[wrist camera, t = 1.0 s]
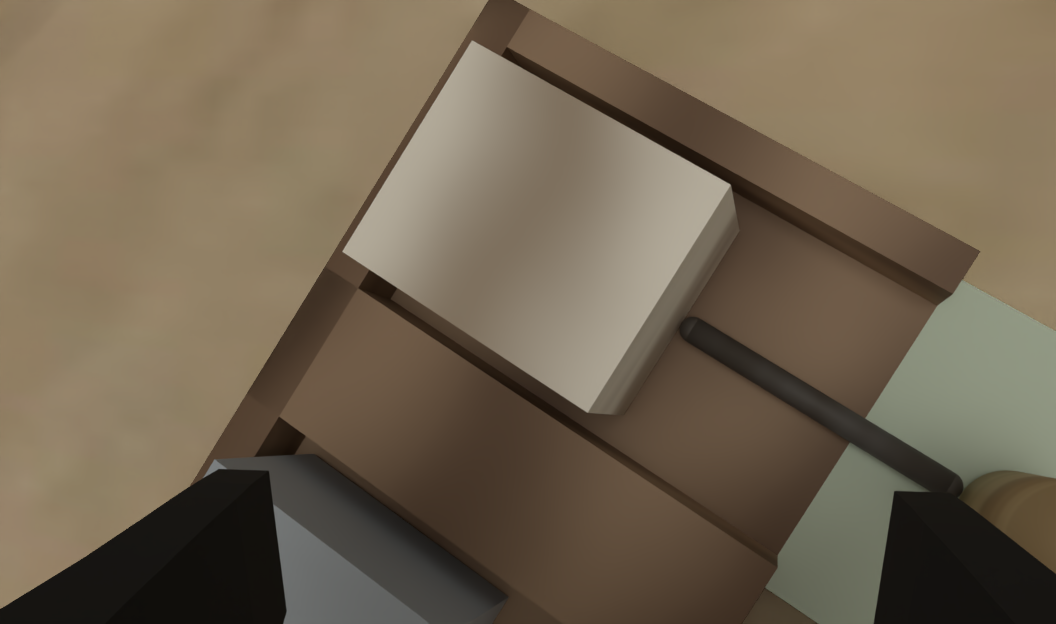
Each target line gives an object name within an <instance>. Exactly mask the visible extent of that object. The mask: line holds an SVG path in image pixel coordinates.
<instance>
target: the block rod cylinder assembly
mask: <svg viewBox="0 0 1056 624" xmlns="http://www.w3.org/2000/svg"><path fill="white" fill-rule="evenodd" d="M739 231H740V230H739V225H738V220H737V215H736V209H735V204H734V199H733V194H732V188H731V185H730V184H728V183H727V182H725V181H723V180H721V179H720V178H718V177H716V176H714V175H712V174H711V173H709V172H707V171H705V170H703V169H702V168H700V167H698V166H696V165H694V164H693V163H691V162H689V161H687V160H685V159H684V158H682V157H680V156H678V155H677V154H675V153H673V152H671V151H669V150H668V149H666V148H664V147H662V146H660V145H659V144H657V143H655V142H653V141H651V140H650V139H648V138H646V137H644V136H643V135H641V134H639V133H637V132H635V131H634V130H632V129H630V128H628V127H626V126H625V125H623V124H621V123H619V122H617V121H616V120H614V119H612V118H610V117H608V116H607V115H605V114H603V113H601V112H600V111H598V110H596V109H594V108H592V107H591V106H589V105H587V104H585V103H583V102H582V101H580V100H578V99H576V98H574V97H573V96H571V95H569V94H567V93H566V92H564V91H562V90H560V89H558V88H557V87H555V86H553V85H551V84H549V83H548V82H546V81H544V80H542V79H540V78H539V77H537V76H535V75H533V74H531V73H530V72H528V71H526V70H524V69H523V68H521V67H519V66H517V65H515V64H514V63H512V62H510V61H508V60H506V59H505V58H503V57H501V56H499V55H497V54H496V53H494V52H492V51H490V50H489V49H487V48H485V47H483V46H481V45H480V44H478V43H476V42H474V41H471V43H470V45H469V46H468V48H467V49H466V51H465V53H464V54H463V56H462V58H461V59H460V61H459V62H458V64H457V66H456V67H455V69H454V71H453V72H452V74H451V75H450V77H449V79H448V80H447V82H446V84H445V85H444V87H443V88H442V90H441V92H440V93H439V95H438V97H437V98H436V100H435V102H434V103H433V105H432V106H431V108H430V110H429V111H428V113H427V115H426V116H425V118H424V119H423V121H422V123H421V124H420V126H419V128H418V129H417V131H416V132H415V134H414V136H413V137H412V139H411V141H410V142H409V144H408V145H407V147H406V149H405V150H404V152H403V154H402V155H401V157H400V158H399V160H398V162H397V163H396V165H395V167H394V168H393V170H392V171H391V173H390V175H389V176H388V178H387V180H386V181H385V183H384V185H383V186H382V188H381V189H380V191H379V193H378V194H377V196H376V198H375V199H374V201H373V202H372V204H371V206H370V207H369V209H368V211H367V212H366V214H365V215H364V217H363V219H362V220H361V222H360V224H359V225H358V227H357V228H356V230H355V232H354V233H353V235H352V237H351V238H350V240H349V241H348V243H347V245H346V246H345V248H344V250H343V251H342V252H344V253H345V254H347V255H348V256H350V257H351V258H353V259H354V260H356V261H357V262H359V263H360V264H362V265H363V266H365V267H366V268H368V269H369V270H371V271H372V272H374V273H376V274H377V275H379V276H380V277H382V278H383V279H385V280H386V281H388V282H389V283H391V284H392V285H394V286H395V287H397V288H398V289H400V290H401V291H403V292H404V293H406V294H407V295H409V296H411V297H412V298H414V299H415V300H417V301H418V302H420V303H421V304H423V305H424V306H426V307H427V308H429V309H430V310H432V311H433V312H435V313H436V314H438V315H439V316H441V317H442V318H444V319H446V320H447V321H449V322H450V323H452V324H453V325H455V326H456V327H458V328H459V329H461V330H462V331H464V332H465V333H467V334H468V335H470V336H471V337H473V338H474V339H476V340H477V341H479V342H481V343H482V344H484V345H485V346H487V347H488V348H490V349H491V350H493V351H494V352H496V353H497V354H499V355H500V356H502V357H503V358H505V359H506V360H508V361H509V362H511V363H513V364H514V365H516V366H517V367H519V368H520V369H522V370H523V371H525V372H526V373H528V374H529V375H531V376H532V377H534V378H535V379H537V380H538V381H540V382H541V383H543V384H544V385H546V386H548V387H549V388H551V389H552V390H554V391H555V392H557V393H558V394H560V395H561V396H563V397H564V398H566V399H567V400H569V401H570V402H572V403H573V404H575V405H576V406H578V407H579V408H581V409H583V410H584V411H586V412H587V413H597V414H611V415H624V414H625V412H626V411H627V409H628V407H629V406H630V404H631V403H632V401H633V399H634V398H635V396H636V395H637V393H638V391H639V390H640V388H641V387H642V385H643V384H644V382H645V380H646V379H647V377H648V376H649V374H650V372H651V371H652V369H653V368H654V366H655V364H656V363H657V361H658V360H659V358H660V357H661V355H662V353H663V352H664V350H665V349H666V347H667V345H668V344H669V342H670V341H671V339H672V338H673V336H674V334H675V333H676V331H677V330H678V328H679V326H680V329H679V331H680V335H681V337H682V338H683V339H684V340H685V341H686V342H688V343H690V344H691V345H693V346H694V347H696V348H698V349H699V350H701V351H703V352H704V353H706V354H707V355H709V356H711V357H712V358H714V359H716V360H717V361H719V362H720V363H722V364H724V365H725V366H727V367H729V368H730V369H732V370H733V371H735V372H737V373H738V374H740V375H742V376H743V377H745V378H746V379H748V380H750V381H751V382H753V383H755V384H756V385H758V386H760V387H761V388H763V389H764V390H766V391H768V392H769V393H771V394H773V395H774V396H776V397H777V398H779V399H781V400H782V401H784V402H786V403H787V404H789V405H790V406H792V407H794V408H795V409H797V410H799V411H800V412H802V413H803V414H805V415H807V416H808V417H810V418H812V419H813V420H815V421H816V422H818V423H820V424H821V425H823V426H825V427H826V428H828V429H829V430H831V431H833V432H834V433H836V434H838V435H839V436H841V437H842V438H844V439H846V440H847V441H849V442H851V443H852V444H854V445H855V446H857V447H859V448H860V449H862V450H864V451H865V452H867V453H869V454H870V455H872V456H873V457H875V458H877V459H878V460H880V461H882V462H883V463H885V464H886V465H888V466H890V467H891V468H893V469H895V470H896V471H898V472H899V473H901V474H903V475H904V476H906V477H908V478H909V479H911V480H912V481H914V482H916V483H917V484H919V485H921V486H922V487H924V488H925V489H927V490H929V491H930V492H945V493H951V494H953V495H954V496H956V497H957V498H958V497H959V496H960V497H959V499H960V500H961V501H963V502H964V503H966V504H967V505H968V506H970V507H971V508H972V509H974V510H975V511H976V512H978V513H979V514H980V515H982V516H983V517H984V518H985V519H987V520H988V521H989V522H991V523H992V524H993V525H994V526H996V527H997V528H998V529H999V530H1001V531H1002V532H1003V533H1005V534H1006V535H1007V536H1008V537H1010V538H1011V539H1012V540H1013V541H1015V542H1016V543H1017V544H1018V545H1020V546H1021V547H1022V548H1024V549H1025V550H1026V551H1027V552H1029V553H1030V554H1031V555H1032V556H1034V557H1035V558H1036V559H1038V560H1039V561H1040V562H1041V563H1043V564H1044V565H1045V566H1047V567H1048V568H1049V569H1050V570H1052V571H1053V572H1054V573H1056V478H1051V477H1045V476H1040V475H1035V474H1029V473H1024V472H1018V471H1010V470H1003V471H995V472H991V473H988V474H985V475H983V476H981V477H979V478H977V479H975V480H974V481H973V482H971V483H970V484H969V485H968V486H967V487H966V488H965V489H964V491H963V488H964V485H963V481H962V479H961V478H960V476H959V475H957V474H956V473H954V472H953V471H951V470H949V469H948V468H946V467H945V466H943V465H941V464H940V463H938V462H936V461H935V460H933V459H931V458H930V457H928V456H926V455H925V454H923V453H921V452H920V451H918V450H916V449H915V448H913V447H911V446H910V445H908V444H907V443H905V442H903V441H902V440H900V439H898V438H897V437H895V436H893V435H892V434H890V433H888V432H887V431H885V430H883V429H882V428H880V427H878V426H877V425H875V424H873V423H872V422H870V421H869V420H867V419H865V418H864V417H862V416H860V415H859V414H857V413H855V412H854V411H852V410H850V409H849V408H847V407H845V406H844V405H842V404H840V403H839V402H837V401H835V400H834V399H832V398H830V397H829V396H827V395H826V394H824V393H822V392H821V391H819V390H817V389H816V388H814V387H812V386H811V385H809V384H807V383H806V382H804V381H802V380H801V379H799V378H797V377H796V376H794V375H792V374H791V373H789V372H788V371H786V370H784V369H783V368H781V367H779V366H778V365H776V364H774V363H773V362H771V361H769V360H768V359H766V358H764V357H763V356H761V355H759V354H758V353H756V352H754V351H753V350H751V349H750V348H748V347H746V346H745V345H743V344H741V343H740V342H738V341H736V340H735V339H733V338H731V337H730V336H728V335H726V334H725V333H723V332H721V331H720V330H718V329H716V328H715V327H713V326H711V325H710V324H708V323H707V322H705V321H703V320H702V319H700V318H698V317H688V318H686V319H685V320H684V318H685V317H686V315H687V314H688V312H689V311H690V309H691V307H692V306H693V304H694V303H695V301H696V299H697V298H698V296H699V295H700V293H701V292H702V290H703V288H704V287H705V285H706V284H707V282H708V280H709V279H710V277H711V276H712V274H713V272H714V271H715V269H716V268H717V266H718V265H719V263H720V261H721V260H722V258H723V257H724V255H725V253H726V252H727V250H728V249H729V247H730V245H731V244H732V242H733V241H734V239H735V238H736V236H737V234H738V233H739Z"/></svg>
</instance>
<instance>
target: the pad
mask: <svg viewBox="0 0 1056 624" xmlns="http://www.w3.org/2000/svg"><path fill="white" fill-rule="evenodd" d="M865 419H867V420H869V421H870V422H872V423H873V424H875V425H877V426H878V427H880V428H882V429H883V430H885V431H887V432H888V433H890V434H892V435H893V436H895V437H897V438H898V439H900V440H902V441H903V442H905V443H907V444H908V445H910V446H911V447H913V448H915V449H916V450H918V451H920V452H921V453H923V454H925V455H926V456H928V457H930V458H931V459H933V460H935V461H936V462H938V463H940V464H941V465H943V466H945V467H946V468H948V469H949V470H951V471H953V472H954V473H956V474H957V475H959V476H960V478H961V479H962V481H963V485H964V488H963V491H964V489H965V488H966V487H967V486H968V485H969V484H970V483H971V482H973V481H974V480H975V479H977V478H979V477H981V476H983V475H985V474H988V473H991V472H995V471H1003V470H1010V471H1018V472H1024V473H1029V474H1035V475H1040V476H1045V477H1051V478H1056V331H1054V330H1052V329H1051V328H1049V327H1047V326H1045V325H1043V324H1041V323H1040V322H1038V321H1036V320H1034V319H1032V318H1031V317H1029V316H1027V315H1025V314H1023V313H1021V312H1020V311H1018V310H1016V309H1014V308H1012V307H1010V306H1009V305H1007V304H1005V303H1003V302H1001V301H1000V300H998V299H996V298H994V297H992V296H990V295H989V294H987V293H985V292H983V291H981V290H980V289H978V288H976V287H974V286H972V285H970V284H969V283H967V282H965V281H963V280H962V281H961V282H960V284H959V285H958V287H957V289H956V290H955V292H954V293H953V294H952V295H951V296H950V297H948V298H947V299H946V300H944V301H943V302H942V303H940V304H939V305H938V306H937V307H936V309H935V310H934V312H933V313H932V315H931V317H930V318H929V320H928V321H927V323H926V324H925V326H924V327H923V329H922V331H921V332H920V334H919V335H918V337H917V338H916V340H915V342H914V343H913V345H912V346H911V348H910V349H909V351H908V352H907V354H906V356H905V357H904V359H903V360H902V362H901V363H900V365H899V367H898V368H897V370H896V371H895V373H894V374H893V376H892V377H891V379H890V381H889V382H888V384H887V385H886V387H885V388H884V390H883V392H882V393H881V395H880V396H879V398H878V399H877V401H876V402H875V404H874V406H873V407H872V409H871V410H870V412H869V413H868V415H867V417H866V418H865ZM894 491H914V492H930V491H929V490H927V489H925V488H924V487H922V486H921V485H919V484H917V483H916V482H914V481H912V480H911V479H909V478H908V477H906V476H904V475H903V474H901V473H899V472H898V471H896V470H895V469H893V468H891V467H890V466H888V465H886V464H885V463H883V462H882V461H880V460H878V459H877V458H875V457H873V456H872V455H870V454H869V453H867V452H865V451H864V450H862V449H860V448H859V447H857V446H855V445H854V444H852V443H851V442H850V443H849V445H848V446H847V448H846V449H845V451H844V452H843V454H842V456H841V457H840V459H839V460H838V462H837V463H836V465H835V466H834V468H833V470H832V471H831V473H830V474H829V476H828V477H827V479H826V481H825V482H824V484H823V485H822V487H821V488H820V490H819V491H818V493H817V495H816V496H815V498H814V499H813V501H812V502H811V504H810V506H809V507H808V509H807V510H806V512H805V513H804V515H803V516H802V518H801V520H800V521H799V523H798V524H797V526H796V527H795V529H794V531H793V532H792V534H791V535H790V537H789V538H788V540H787V541H786V543H785V545H784V546H783V548H782V549H781V551H780V552H779V554H778V568H777V570H776V571H775V573H774V574H773V576H772V577H771V579H770V580H769V582H768V584H767V585H766V587H765V588H766V589H768V590H769V591H771V592H772V593H774V594H775V595H777V596H778V597H780V598H781V599H783V600H784V601H786V602H787V603H788V604H790V605H791V606H793V607H794V608H796V609H797V610H799V611H800V612H802V613H803V614H805V615H806V616H808V617H809V618H811V619H812V620H814V621H815V622H817V623H818V624H874V618H875V611H876V605H877V599H878V592H879V586H880V579H881V573H882V567H883V560H884V554H885V547H886V541H887V534H888V528H889V522H890V515H891V509H892V502H893V496H894ZM959 497H960V496H959ZM959 497H958V498H959Z"/></svg>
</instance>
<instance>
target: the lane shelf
mask: <svg viewBox="0 0 1056 624" xmlns="http://www.w3.org/2000/svg"><path fill="white" fill-rule="evenodd" d="M471 41H474V42H476V43H478V44H480V45H481V46H483V47H485V48H487V49H489V50H490V51H492V52H494V53H496V54H497V55H499V56H501V57H503V58H505V59H506V60H508V61H510V62H512V63H514V64H515V65H517V66H519V67H521V68H523V69H524V70H526V71H528V72H530V73H531V74H533V75H535V76H537V77H539V78H540V79H542V80H544V81H546V82H548V83H549V84H551V85H553V86H555V87H557V88H558V89H560V90H562V91H564V92H566V93H567V94H569V95H571V96H573V97H574V98H576V99H578V100H580V101H582V102H583V103H585V104H587V105H589V106H591V107H592V108H594V109H596V110H598V111H600V112H601V113H603V114H605V115H607V116H608V117H610V118H612V119H614V120H616V121H617V122H619V123H621V124H623V125H625V126H626V127H628V128H630V129H632V130H634V131H635V132H637V133H639V134H641V135H643V136H644V137H646V138H648V139H650V140H651V141H653V142H655V143H657V144H659V145H660V146H662V147H664V148H666V149H668V150H669V151H671V152H673V153H675V154H677V155H678V156H680V157H682V158H684V159H685V160H687V161H689V162H691V163H693V164H694V165H696V166H698V167H700V168H702V169H703V170H705V171H707V172H709V173H711V174H712V175H714V176H716V177H718V178H720V179H721V180H723V181H725V182H727V183H728V184H730V185H731V188H732V194H733V199H734V204H735V209H736V215H737V220H738V225H739V230H740V231H739V233H738V234H737V236H736V238H735V239H734V241H733V242H732V244H731V245H730V247H729V249H728V250H727V252H726V253H725V255H724V257H723V258H722V260H721V261H720V263H719V265H718V266H717V268H716V269H715V271H714V272H713V274H712V276H711V277H710V279H709V280H708V282H707V284H706V285H705V287H704V288H703V290H702V292H701V293H700V295H699V296H698V298H697V299H696V301H695V303H694V304H693V306H692V307H691V309H690V311H689V312H688V314H687V315H686V317H685V318H684V320H685V319H686V318H688V317H698V318H700V319H702V320H703V321H705V322H707V323H708V324H710V325H711V326H713V327H715V328H716V329H718V330H720V331H721V332H723V333H725V334H726V335H728V336H730V337H731V338H733V339H735V340H736V341H738V342H740V343H741V344H743V345H745V346H746V347H748V348H750V349H751V350H753V351H754V352H756V353H758V354H759V355H761V356H763V357H764V358H766V359H768V360H769V361H771V362H773V363H774V364H776V365H778V366H779V367H781V368H783V369H784V370H786V371H788V372H789V373H791V374H792V375H794V376H796V377H797V378H799V379H801V380H802V381H804V382H806V383H807V384H809V385H811V386H812V387H814V388H816V389H817V390H819V391H821V392H822V393H824V394H826V395H827V396H829V397H830V398H832V399H834V400H835V401H837V402H839V403H840V404H842V405H844V406H845V407H847V408H849V409H850V410H852V411H854V412H855V413H857V414H859V415H860V416H862V417H864V418H866V417H867V415H868V413H869V412H870V410H871V409H872V407H873V406H874V404H875V402H876V401H877V399H878V398H879V396H880V395H881V393H882V392H883V390H884V388H885V387H886V385H887V384H888V382H889V381H890V379H891V377H892V376H893V374H894V373H895V371H896V370H897V368H898V367H899V365H900V363H901V362H902V360H903V359H904V357H905V356H906V354H907V352H908V351H909V349H910V348H911V346H912V345H913V343H914V342H915V340H916V338H917V337H918V335H919V334H920V332H921V331H922V329H923V327H924V326H925V324H926V323H927V321H928V320H929V318H930V317H931V315H932V313H933V312H934V310H935V309H936V307H937V306H938V305H939V304H940V303H942V302H943V301H944V300H946V299H947V298H948V297H950V296H951V295H952V294H953V293H954V292H955V290H956V289H957V287H958V285H959V284H960V282H961V281H962V279H963V278H964V276H965V274H966V273H967V271H968V270H969V268H970V267H971V265H972V264H973V262H974V260H975V259H976V257H977V256H978V254H979V253H980V251H979V250H977V249H975V248H973V247H971V246H970V245H968V244H966V243H964V242H962V241H960V240H958V239H957V238H955V237H953V236H951V235H949V234H947V233H945V232H944V231H942V230H940V229H938V228H936V227H934V226H932V225H931V224H929V223H927V222H925V221H923V220H921V219H919V218H918V217H916V216H914V215H912V214H910V213H908V212H906V211H904V210H903V209H901V208H899V207H897V206H895V205H893V204H891V203H890V202H888V201H886V200H884V199H882V198H880V197H878V196H877V195H875V194H873V193H871V192H869V191H867V190H865V189H864V188H862V187H860V186H858V185H856V184H854V183H852V182H851V181H849V180H847V179H845V178H843V177H841V176H839V175H838V174H836V173H834V172H832V171H830V170H828V169H826V168H825V167H823V166H821V165H819V164H817V163H815V162H813V161H811V160H810V159H808V158H806V157H804V156H802V155H800V154H798V153H797V152H795V151H793V150H791V149H789V148H787V147H785V146H784V145H782V144H780V143H778V142H776V141H774V140H772V139H771V138H769V137H767V136H765V135H763V134H761V133H759V132H758V131H756V130H754V129H752V128H750V127H748V126H746V125H745V124H743V123H741V122H739V121H737V120H735V119H733V118H732V117H730V116H728V115H726V114H724V113H722V112H720V111H719V110H717V109H715V108H713V107H711V106H709V105H707V104H705V103H704V102H702V101H700V100H698V99H696V98H694V97H692V96H691V95H689V94H687V93H685V92H683V91H681V90H679V89H678V88H676V87H674V86H672V85H670V84H668V83H666V82H665V81H663V80H661V79H659V78H657V77H655V76H653V75H652V74H650V73H648V72H646V71H644V70H642V69H640V68H639V67H637V66H635V65H633V64H631V63H629V62H627V61H626V60H624V59H622V58H620V57H618V56H616V55H614V54H612V53H611V52H609V51H607V50H605V49H603V48H601V47H599V46H598V45H596V44H594V43H592V42H590V41H588V40H586V39H585V38H583V37H581V36H579V35H577V34H575V33H573V32H572V31H570V30H568V29H566V28H564V27H562V26H560V25H559V24H557V23H555V22H553V21H551V20H549V19H547V18H546V17H544V16H542V15H540V14H538V13H536V12H534V11H533V10H531V9H529V8H527V7H525V6H523V5H521V4H519V3H518V2H516V1H514V0H488V2H487V4H486V5H485V7H484V8H483V10H482V12H481V13H480V15H479V17H478V18H477V20H476V22H475V23H474V25H473V26H472V28H471V30H470V31H469V33H468V35H467V36H466V38H465V39H464V41H463V43H462V44H461V46H460V48H459V49H458V51H457V52H456V54H455V56H454V57H453V59H452V61H451V62H450V64H449V65H448V67H447V69H446V70H445V72H444V74H443V75H442V77H441V78H440V80H439V82H438V83H437V85H436V87H435V88H434V90H433V92H432V93H431V95H430V96H429V98H428V100H427V101H426V103H425V105H424V106H423V108H422V109H421V111H420V113H419V114H418V116H417V118H416V119H415V121H414V122H413V124H412V126H411V127H410V129H409V131H408V132H407V134H406V135H405V137H404V139H403V140H402V142H401V144H400V145H399V147H398V149H397V150H396V152H395V153H394V155H393V157H392V158H391V160H390V162H389V163H388V165H387V166H386V168H385V170H384V171H383V173H382V175H381V176H380V178H379V179H378V181H377V183H376V184H375V186H374V188H373V189H372V191H371V192H370V194H369V196H368V197H367V199H366V201H365V202H364V204H363V205H362V207H361V209H360V210H359V212H358V214H357V215H356V217H355V219H354V220H353V222H352V223H351V225H350V227H349V228H348V230H347V232H346V233H345V235H344V236H343V238H342V240H341V241H340V243H339V245H338V246H337V248H336V249H335V251H334V253H333V254H332V256H331V258H330V259H329V261H328V262H327V264H326V266H325V267H324V269H323V271H322V272H321V274H320V275H319V277H318V279H317V280H316V282H315V284H314V285H313V287H312V289H311V290H310V292H309V293H308V295H307V297H306V298H305V300H304V302H303V303H302V305H301V306H300V308H299V310H298V311H297V313H296V315H295V316H294V318H293V319H292V321H291V323H290V324H289V326H288V328H287V329H286V331H285V332H284V334H283V336H282V337H281V339H280V341H279V342H278V344H277V346H276V347H275V349H274V350H273V352H272V354H271V355H270V357H269V359H268V360H267V362H266V363H265V365H264V367H263V368H262V370H261V372H260V373H259V375H258V376H257V378H256V380H255V381H254V383H253V385H252V386H251V388H250V389H249V391H248V393H247V394H246V396H245V398H244V399H243V401H242V402H241V404H240V406H239V407H238V409H237V411H236V412H235V414H234V416H233V417H232V419H231V420H230V422H229V424H228V425H227V427H226V429H225V430H224V432H223V433H222V435H221V437H220V438H219V440H218V442H217V443H216V445H215V446H214V448H213V450H212V451H211V453H210V455H209V456H208V458H207V459H206V461H205V463H204V464H203V466H202V468H201V469H200V471H199V473H198V474H197V476H196V477H195V479H194V481H193V482H192V484H191V485H193V484H195V483H196V482H198V481H199V480H201V479H202V478H203V477H204V476H205V474H206V473H207V471H208V469H209V468H210V466H211V464H212V463H213V461H214V460H215V459H230V458H247V457H264V456H282V455H299V454H315V455H316V456H317V457H319V458H320V459H321V460H323V461H324V462H326V463H327V464H328V465H330V466H331V467H332V468H334V469H335V470H336V471H338V472H339V473H340V474H342V475H343V476H345V477H346V478H347V479H349V480H350V481H351V482H353V483H354V484H355V485H357V486H358V487H360V488H361V489H362V490H364V491H365V492H366V493H368V494H369V495H370V496H372V497H373V498H375V499H376V500H377V501H379V502H380V503H381V504H383V505H384V506H385V507H387V508H388V509H389V510H391V511H392V512H394V513H395V514H396V515H398V516H399V517H400V518H402V519H403V520H404V521H406V522H407V523H409V524H410V525H411V526H413V527H414V528H415V529H417V530H418V531H419V532H421V533H422V534H424V535H425V536H426V537H428V538H429V539H430V540H432V541H433V542H434V543H436V544H437V545H439V546H440V547H441V548H443V549H444V550H445V551H447V552H448V553H449V554H451V555H452V556H453V557H455V558H456V559H458V560H459V561H460V562H462V563H463V564H464V565H466V566H467V567H468V568H470V569H471V570H473V571H474V572H475V573H477V574H478V575H479V576H481V577H482V578H483V579H485V580H486V581H488V582H489V583H490V584H492V585H493V586H494V587H496V588H497V589H498V590H500V591H501V592H503V593H504V594H505V595H507V596H508V597H509V598H508V599H507V601H506V603H505V604H504V606H503V607H502V609H501V610H500V612H499V614H498V615H497V617H496V618H495V620H494V622H493V623H492V624H742V623H743V621H744V620H745V618H746V616H747V615H748V613H749V612H750V610H751V609H752V607H753V605H754V604H755V602H756V601H757V599H758V598H759V596H760V595H761V593H762V591H763V590H764V588H765V587H766V585H767V584H768V582H769V580H770V579H771V577H772V576H773V574H774V573H775V571H776V570H777V568H778V554H779V552H780V551H781V549H782V548H783V546H784V545H785V543H786V541H787V540H788V538H789V537H790V535H791V534H792V532H793V531H794V529H795V527H796V526H797V524H798V523H799V521H800V520H801V518H802V516H803V515H804V513H805V512H806V510H807V509H808V507H809V506H810V504H811V502H812V501H813V499H814V498H815V496H816V495H817V493H818V491H819V490H820V488H821V487H822V485H823V484H824V482H825V481H826V479H827V477H828V476H829V474H830V473H831V471H832V470H833V468H834V466H835V465H836V463H837V462H838V460H839V459H840V457H841V456H842V454H843V452H844V451H845V449H846V448H847V446H848V445H849V443H850V442H849V441H847V440H846V439H844V438H842V437H841V436H839V435H838V434H836V433H834V432H833V431H831V430H829V429H828V428H826V427H825V426H823V425H821V424H820V423H818V422H816V421H815V420H813V419H812V418H810V417H808V416H807V415H805V414H803V413H802V412H800V411H799V410H797V409H795V408H794V407H792V406H790V405H789V404H787V403H786V402H784V401H782V400H781V399H779V398H777V397H776V396H774V395H773V394H771V393H769V392H768V391H766V390H764V389H763V388H761V387H760V386H758V385H756V384H755V383H753V382H751V381H750V380H748V379H746V378H745V377H743V376H742V375H740V374H738V373H737V372H735V371H733V370H732V369H730V368H729V367H727V366H725V365H724V364H722V363H720V362H719V361H717V360H716V359H714V358H712V357H711V356H709V355H707V354H706V353H704V352H703V351H701V350H699V349H698V348H696V347H694V346H693V345H691V344H690V343H688V342H686V341H685V340H684V339H683V338H682V337H681V335H680V331H679V329H680V326H679V328H678V330H677V331H676V333H675V334H674V336H673V338H672V339H671V341H670V342H669V344H668V345H667V347H666V349H665V350H664V352H663V353H662V355H661V357H660V358H659V360H658V361H657V363H656V364H655V366H654V368H653V369H652V371H651V372H650V374H649V376H648V377H647V379H646V380H645V382H644V384H643V385H642V387H641V388H640V390H639V391H638V393H637V395H636V396H635V398H634V399H633V401H632V403H631V404H630V406H629V407H628V409H627V411H626V412H625V414H624V415H611V414H597V413H587V412H586V411H584V410H583V409H581V408H579V407H578V406H576V405H575V404H573V403H572V402H570V401H569V400H567V399H566V398H564V397H563V396H561V395H560V394H558V393H557V392H555V391H554V390H552V389H551V388H549V387H548V386H546V385H544V384H543V383H541V382H540V381H538V380H537V379H535V378H534V377H532V376H531V375H529V374H528V373H526V372H525V371H523V370H522V369H520V368H519V367H517V366H516V365H514V364H513V363H511V362H509V361H508V360H506V359H505V358H503V357H502V356H500V355H499V354H497V353H496V352H494V351H493V350H491V349H490V348H488V347H487V346H485V345H484V344H482V343H481V342H479V341H477V340H476V339H474V338H473V337H471V336H470V335H468V334H467V333H465V332H464V331H462V330H461V329H459V328H458V327H456V326H455V325H453V324H452V323H450V322H449V321H447V320H446V319H444V318H442V317H441V316H439V315H438V314H436V313H435V312H433V311H432V310H430V309H429V308H427V307H426V306H424V305H423V304H421V303H420V302H418V301H417V300H415V299H414V298H412V297H411V296H409V295H407V294H406V293H404V292H403V291H401V290H400V289H398V288H397V287H395V286H394V285H392V284H391V283H389V282H388V281H386V280H385V279H383V278H382V277H380V276H379V275H377V274H376V273H374V272H372V271H371V270H369V269H368V268H366V267H365V266H363V265H362V264H360V263H359V262H357V261H356V260H354V259H353V258H351V257H350V256H348V255H347V254H345V253H344V252H342V251H343V250H344V248H345V246H346V245H347V243H348V241H349V240H350V238H351V237H352V235H353V233H354V232H355V230H356V228H357V227H358V225H359V224H360V222H361V220H362V219H363V217H364V215H365V214H366V212H367V211H368V209H369V207H370V206H371V204H372V202H373V201H374V199H375V198H376V196H377V194H378V193H379V191H380V189H381V188H382V186H383V185H384V183H385V181H386V180H387V178H388V176H389V175H390V173H391V171H392V170H393V168H394V167H395V165H396V163H397V162H398V160H399V158H400V157H401V155H402V154H403V152H404V150H405V149H406V147H407V145H408V144H409V142H410V141H411V139H412V137H413V136H414V134H415V132H416V131H417V129H418V128H419V126H420V124H421V123H422V121H423V119H424V118H425V116H426V115H427V113H428V111H429V110H430V108H431V106H432V105H433V103H434V102H435V100H436V98H437V97H438V95H439V93H440V92H441V90H442V88H443V87H444V85H445V84H446V82H447V80H448V79H449V77H450V75H451V74H452V72H453V71H454V69H455V67H456V66H457V64H458V62H459V61H460V59H461V58H462V56H463V54H464V53H465V51H466V49H467V48H468V46H469V45H470V43H471Z"/></svg>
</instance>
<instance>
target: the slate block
mask: <svg viewBox="0 0 1056 624" xmlns="http://www.w3.org/2000/svg"><path fill="white" fill-rule="evenodd" d="M218 469H236V470H266V471H269V475H270V483H271V491H272V499H273V507H274V515H275V522H276V530H277V538H278V546H279V554H280V562H281V570H282V578H283V586H284V593H285V601H286V609H287V612H286V616H285V619H284V623H283V624H492V623H493V622H494V620H495V618H496V617H497V615H498V614H499V612H500V610H501V609H502V607H503V606H504V604H505V603H506V601H507V599H508V598H509V597H508V596H507V595H505V594H504V593H503V592H501V591H500V590H498V589H497V588H496V587H494V586H493V585H492V584H490V583H489V582H488V581H486V580H485V579H483V578H482V577H481V576H479V575H478V574H477V573H475V572H474V571H473V570H471V569H470V568H468V567H467V566H466V565H464V564H463V563H462V562H460V561H459V560H458V559H456V558H455V557H453V556H452V555H451V554H449V553H448V552H447V551H445V550H444V549H443V548H441V547H440V546H439V545H437V544H436V543H434V542H433V541H432V540H430V539H429V538H428V537H426V536H425V535H424V534H422V533H421V532H419V531H418V530H417V529H415V528H414V527H413V526H411V525H410V524H409V523H407V522H406V521H404V520H403V519H402V518H400V517H399V516H398V515H396V514H395V513H394V512H392V511H391V510H389V509H388V508H387V507H385V506H384V505H383V504H381V503H380V502H379V501H377V500H376V499H375V498H373V497H372V496H370V495H369V494H368V493H366V492H365V491H364V490H362V489H361V488H360V487H358V486H357V485H355V484H354V483H353V482H351V481H350V480H349V479H347V478H346V477H345V476H343V475H342V474H340V473H339V472H338V471H336V470H335V469H334V468H332V467H331V466H330V465H328V464H327V463H326V462H324V461H323V460H321V459H320V458H319V457H317V456H316V455H315V454H299V455H282V456H264V457H247V458H230V459H215V460H214V461H213V463H212V464H211V466H210V468H209V469H208V471H207V473H206V474H205V476H204V477H206V476H207V475H209V474H211V473H213V472H214V471H216V470H218ZM204 477H203V478H204Z"/></svg>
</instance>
